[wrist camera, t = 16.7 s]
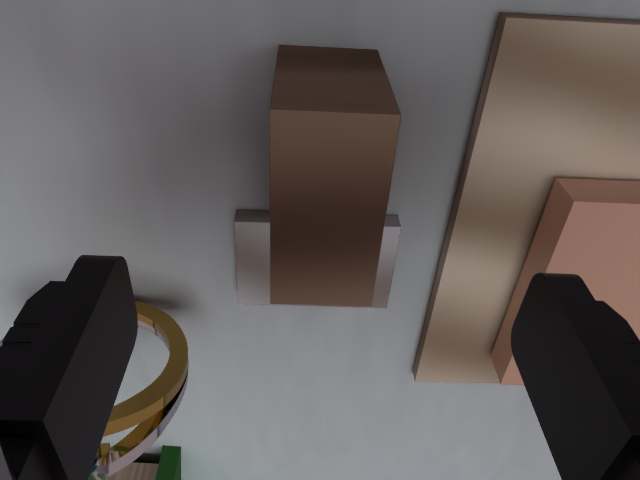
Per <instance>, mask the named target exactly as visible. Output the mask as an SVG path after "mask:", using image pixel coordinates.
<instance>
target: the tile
mask: <svg viewBox="0 0 640 480" xmlns="http://www.w3.org/2000/svg"><path fill="white" fill-rule="evenodd" d="M537 273H561V274H577V275H579V276H580V277H581V278H582V279H583V281H584V282H585V284H586V286H587V287H588V289H589V290H590V292H591V294H592V295H593V297H594V299H595V300H596V301H604V302H606V303H607V304H608V305H609V306H610V307H611V308H613V309H614V310H615V311H616V312H617V313H618V314H620V315H621V316H622V317H623V318H624V319H626V320H627V322H628V323H629V325H630V326H631V328H632V329H633V331H634V332H635V334H636V335H637V337H638V338H639V340H640V181H618V180H593V179H568V178H556V180H555V182H554V185H553V188H552V191H551V193H550V196H549V199H548V201H547V204H546V207H545V210H544V212H543V215H542V218H541V221H540V223H539V226H538V229H537V231H536V234H535V237H534V240H533V242H532V245H531V248H530V251H529V253H528V256H527V259H526V261H525V264H524V267H523V270H522V272H521V275H520V278H519V280H518V283H517V286H516V289H515V291H514V294H513V297H512V300H511V302H510V305H509V308H508V310H507V313H506V316H505V319H504V321H503V324H502V327H501V329H500V332H499V335H498V338H497V340H496V343H495V346H494V349H493V351H492V354H491V359H492V362H493V365H494V368H495V370H496V373H497V376H498V379H499V381H500V384H505V385H524V383H523V380H522V377H521V375H520V372H519V370H518V367H517V365H516V362H515V360H514V357H513V354H512V349H511V330H512V326H513V323H514V321H515V318H516V316H517V313H518V311H519V308H520V306H521V303H522V301H523V298H524V296H525V293H526V291H527V288H528V286H529V283H530V281H531V279H532V277H533V276H534V275H535V274H537Z"/></svg>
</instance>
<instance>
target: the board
mask: <svg viewBox="0 0 640 480" xmlns="http://www.w3.org/2000/svg"><path fill="white" fill-rule="evenodd" d="M556 178H568V179H593V180H618V181H640V20H626V19H608V18H591V17H573V16H555V15H537V14H520V13H502V12H500V16H499V20H498V24H497V28H496V32H495V36H494V40H493V44H492V49H491V53H490V57H489V61H488V65H487V69H486V73H485V77H484V81H483V85H482V90H481V94H480V98H479V102H478V106H477V110H476V114H475V118H474V122H473V126H472V130H471V135H470V139H469V143H468V147H467V151H466V155H465V159H464V163H463V167H462V171H461V176H460V180H459V184H458V188H457V192H456V196H455V200H454V204H453V208H452V212H451V217H450V221H449V225H448V229H447V233H446V237H445V241H444V245H443V249H442V253H441V257H440V262H439V266H438V270H437V274H436V278H435V282H434V286H433V290H432V294H431V298H430V303H429V307H428V311H427V315H426V319H425V323H424V327H423V331H422V335H421V339H420V344H419V348H418V352H417V356H416V360H415V364H414V368H413V375H414V380H415V382H461V383H500V381H499V379H498V376H497V373H496V370H495V368H494V365H493V362H492V359H491V354H492V351H493V349H494V346H495V343H496V340H497V338H498V335H499V332H500V329H501V327H502V324H503V321H504V319H505V316H506V313H507V310H508V308H509V305H510V302H511V300H512V297H513V294H514V291H515V289H516V286H517V283H518V280H519V278H520V275H521V272H522V270H523V267H524V264H525V261H526V259H527V256H528V253H529V251H530V248H531V245H532V242H533V240H534V237H535V234H536V231H537V229H538V226H539V223H540V221H541V218H542V215H543V212H544V210H545V207H546V204H547V201H548V199H549V196H550V193H551V191H552V188H553V185H554V182H555V180H556Z"/></svg>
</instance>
